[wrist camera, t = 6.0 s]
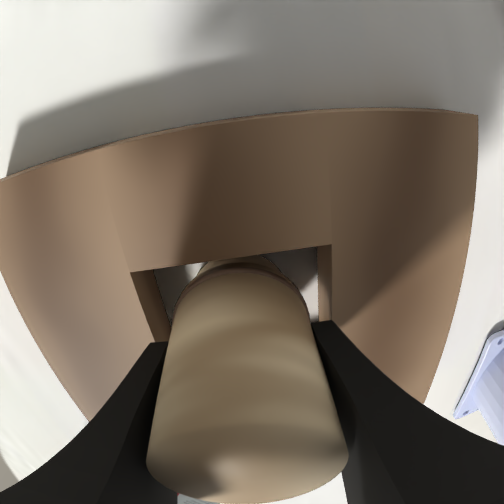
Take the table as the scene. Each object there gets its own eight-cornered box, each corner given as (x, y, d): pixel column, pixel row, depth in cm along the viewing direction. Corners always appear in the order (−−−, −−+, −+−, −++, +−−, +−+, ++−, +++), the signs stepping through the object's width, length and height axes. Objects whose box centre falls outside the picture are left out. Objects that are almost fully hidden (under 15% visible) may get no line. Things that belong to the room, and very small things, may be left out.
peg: (303, 238, 11) (376, 408, 5) (294, 336, 13) (329, 496, 7) (174, 240, 11) (116, 416, 5) (187, 339, 13) (166, 502, 6)
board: (442, 109, 9) (478, 115, 7) (409, 375, 15) (423, 403, 13) (5, 177, 9) (-27, 192, 7) (113, 413, 15) (105, 442, 13)
